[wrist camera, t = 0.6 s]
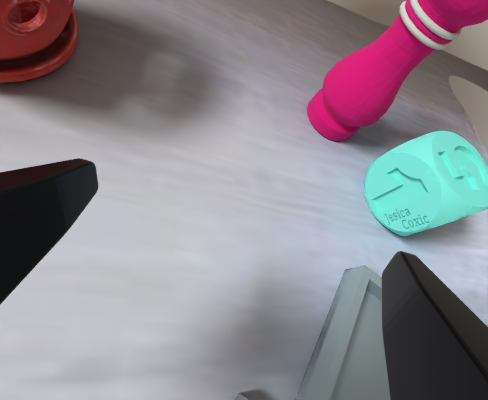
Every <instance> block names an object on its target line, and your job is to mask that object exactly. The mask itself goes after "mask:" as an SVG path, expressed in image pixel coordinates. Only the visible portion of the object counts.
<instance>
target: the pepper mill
mask: <svg viewBox="0 0 488 400" xmlns="http://www.w3.org/2000/svg"><path fill="white" fill-rule="evenodd" d="M487 19H488V0H406V1H404V2H403V3H402V4H401V6H400V14H399V16H398V17H397V19H396V20H395V21H394V23H393V24H392V25H391V26H390V27H389V28H388V29H387V30H386V31H385V32H384V33H383V34H382V35H381V36H380V37H379V38H378V39H376V40H375V41H374V42H372V43H371V44H369V45H368V46H366V47H364V48H362V49H360V50H358V51H356V52H354V53H352V54H350V55H348V56H347V57H345V58H344V59H342V60H341V61H339V62H338V63H337V64H336V65H335V66H334V67H333V68H332V69H331V70H330V71H329V72H328V73H327V75H326V76H325V78H324V82H323V89H321V90H319V91H318V92H317V93H316V95H315V96H314V97H313V98H312V99H311V101H310V102H309V104H308V108H307V111H308V117H309V120H310V122H311V124H312V125H313V127H314V128H315V129H316V130H317V131H318V132H319V133H320V134H321V135H322V136H324V137H326V138H328V139H330V140H333V141H344V140H346V139H348V138H349V137H350V136H352V135H353V134H354V133H355V132H356V131H357V130H358V129H359V128H360V126H367V125H370V124H373V123H374V122H376V121H377V120H378V119H379V118H380V117H381V116H382V115H384V114H385V112H386V111H387V110H388V108H389V107H390V106H391V104H392V103H393V101H394V99H395V97H396V94H397V92H398V90H399V88H400V87H401V85H402V83H403V81H404V80H405V78H406V77H407V76H408V74H409V73H410V72H411V71H412V70H413V69H414V68H415V67H416V66H417V65H418V64H419V63H420V62H421V61H422V60H423V59H424V58H425V57H427V56H428V55H429V54H431V53H432V52H433V51H435V50H436V49H438V50H441V49H445V48H446V47H447V46H448V45H449V43H450V42H451V41H452V40H454V39H457V38H458V37H459V36H460V34H461V28H463V27H465V26H469V25H474V24H478V23H481V22H484V21H485V20H487Z"/></svg>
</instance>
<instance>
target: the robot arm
mask: <svg viewBox="0 0 488 400" xmlns="http://www.w3.org/2000/svg"><path fill="white" fill-rule="evenodd" d="M97 190H98V180H97V173H96V167H95V164H94V163H93V162H91V161H88V160H84V159H73V160H67V161H62V162H56V163H51V164H45V165H40V166H34V167H29V168H23V169H17V170H12V171H6V172H1V173H0V304H1V303H2V302H3V301H4V300H5V299H6V298H7V297H8V296H9V294H10V293H11V292H12V291H13V290H14V289H15V288H16V287H17V286H18V285H19V284H20V283H21V281H22V280H23V279H24V278H25V277H26V276H27V275H28V274H29V273H30V272H31V271H32V269H33V268H34V267H35V266H36V265H37V264H38V263H39V262H40V261H41V260H42V259H43V258H44V256H45V255H46V254H47V253H48V252H49V251H50V250H51V249H52V248H53V247H54V246H55V244H56V243H57V242H58V241H59V240H60V239H61V238H62V237H63V236H64V235H65V233H66V232H67V231H68V230H69V229H70V227H71V226H72V225H73V223H74V222H75V221H76V219H77V218H78V217H79V215H80V214H81V213H82V211H83V210H84V209H85V207H86V206H87V205H88V203H89V202H90V201H91V199H92V198H93V196H94V195H95V194H96V192H97ZM382 333H383V342H384V350H385V358H386V367H387V375H388V383H389V391H390V399H391V400H488V327H487V326H486V325H485V324H484V323H483V322H482V321H481V320H480V319H479V318H478V317H477V316H476V315H475V314H474V313H473V312H472V311H471V310H470V309H469V308H468V307H467V306H466V305H465V304H464V303H463V302H462V301H461V300H460V299H459V298H458V297H457V296H456V295H455V294H454V293H453V292H452V291H451V290H450V289H449V288H448V287H447V286H446V285H445V284H444V283H443V282H442V281H441V280H440V279H439V278H438V277H437V276H436V275H435V274H434V273H433V272H432V271H431V270H430V269H429V268H428V267H427V266H426V265H425V264H424V263H423V262H422V261H421V260H420V259H419V258H418V257H417V256H415V255H413V254H409V253H406V252H402V251H400V252H397V253H396V254H395V255H394V257H393V258H392V260H391V261H390V262H389V264H388V265H387V267H386V268H385V269H384V271H383V274H382Z"/></svg>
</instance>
